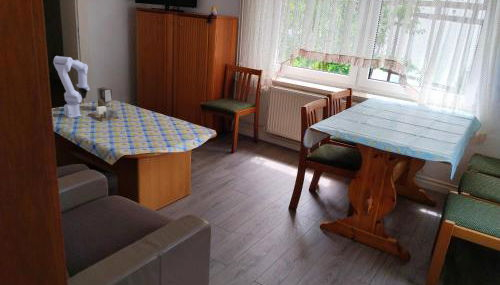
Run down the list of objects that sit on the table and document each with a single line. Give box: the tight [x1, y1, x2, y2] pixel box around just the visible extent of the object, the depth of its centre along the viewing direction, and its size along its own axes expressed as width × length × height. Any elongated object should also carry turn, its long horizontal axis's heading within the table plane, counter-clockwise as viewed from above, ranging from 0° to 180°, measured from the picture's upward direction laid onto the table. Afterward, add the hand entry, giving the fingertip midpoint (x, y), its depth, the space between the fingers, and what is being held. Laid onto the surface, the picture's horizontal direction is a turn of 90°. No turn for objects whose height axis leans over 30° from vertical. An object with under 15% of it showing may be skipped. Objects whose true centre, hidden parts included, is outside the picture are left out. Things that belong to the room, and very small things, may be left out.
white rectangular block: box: [95, 106, 106, 115], centre depth 277 cm, size 9×3×5 cm, turn 141°
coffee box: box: [96, 86, 113, 111], centre depth 294 cm, size 9×6×16 cm
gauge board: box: [87, 109, 120, 122], centre depth 277 cm, size 13×18×6 cm
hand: (83, 98), depth 286 cm, fingers closed
